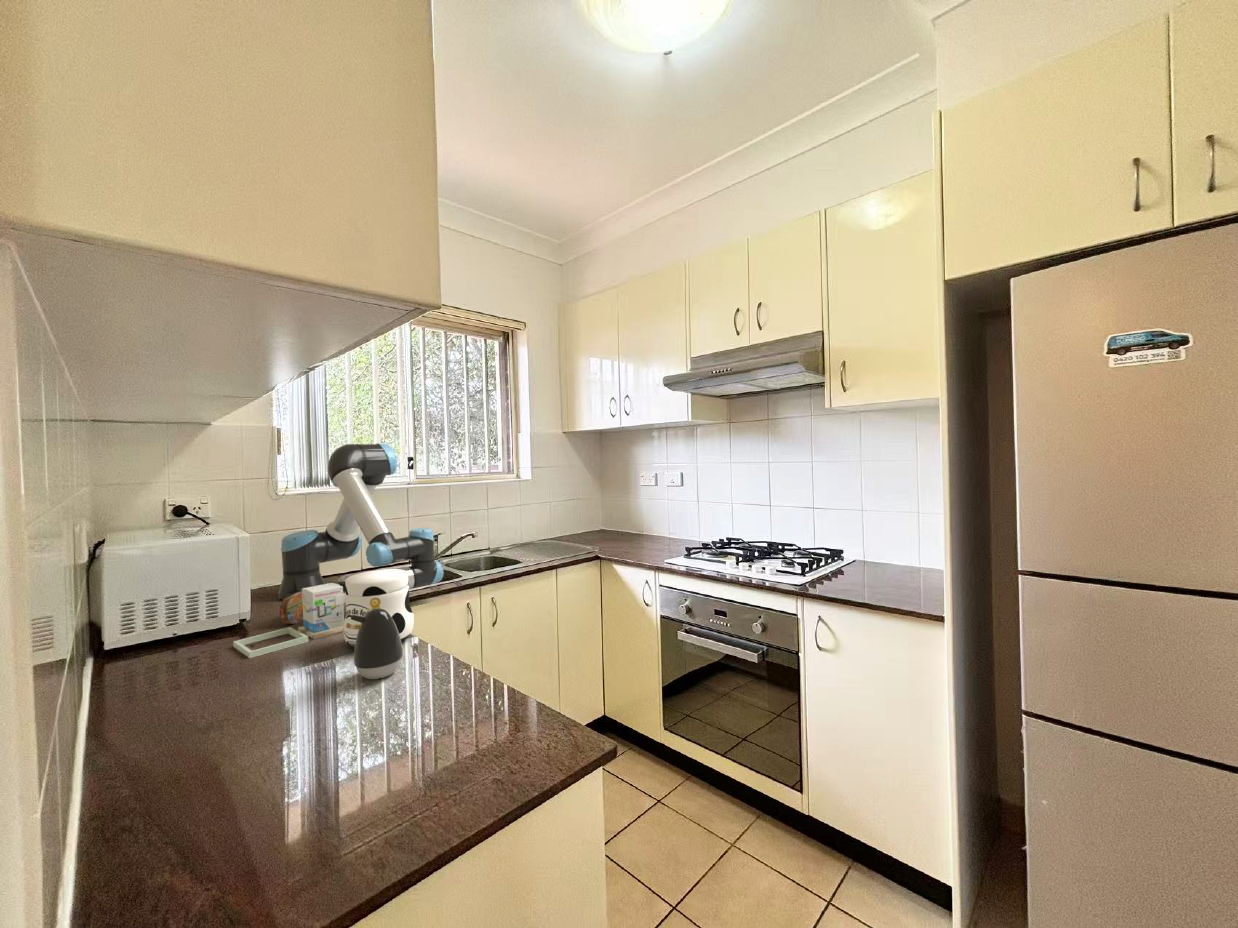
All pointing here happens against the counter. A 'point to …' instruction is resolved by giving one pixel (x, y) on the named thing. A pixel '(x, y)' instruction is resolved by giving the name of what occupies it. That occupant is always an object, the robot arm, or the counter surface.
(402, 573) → the milk container
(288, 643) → the tray
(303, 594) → the ink box
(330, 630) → the pad
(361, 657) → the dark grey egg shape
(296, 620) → the tin
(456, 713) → the counter surface
